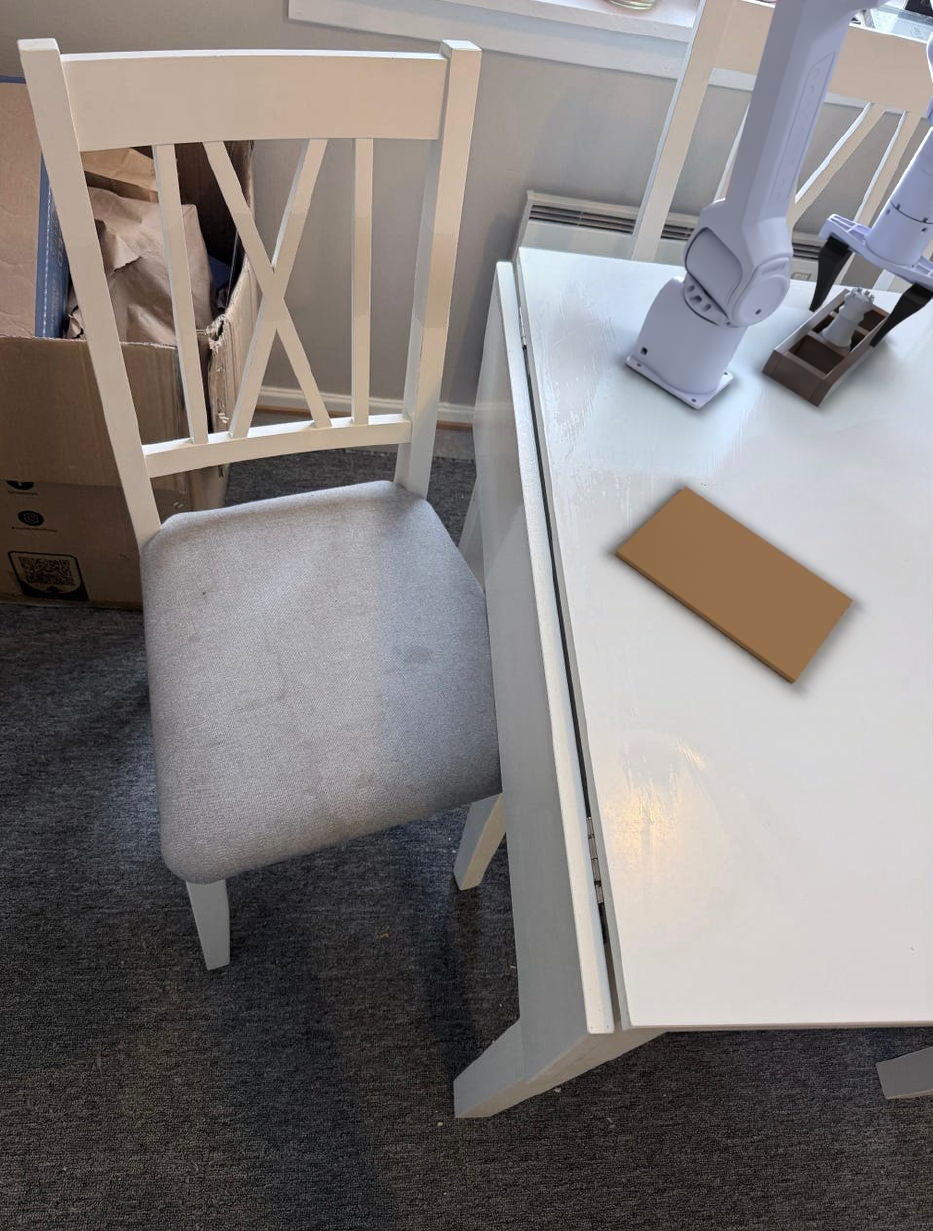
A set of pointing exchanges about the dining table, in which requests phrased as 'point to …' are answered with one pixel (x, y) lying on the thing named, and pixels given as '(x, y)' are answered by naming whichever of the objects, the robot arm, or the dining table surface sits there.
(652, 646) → the dining table surface
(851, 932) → the dining table surface
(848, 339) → the rook chess piece
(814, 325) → the stand
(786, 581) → the cork mat
